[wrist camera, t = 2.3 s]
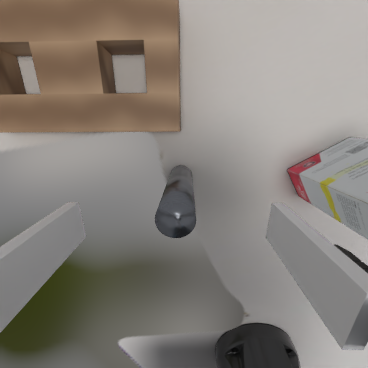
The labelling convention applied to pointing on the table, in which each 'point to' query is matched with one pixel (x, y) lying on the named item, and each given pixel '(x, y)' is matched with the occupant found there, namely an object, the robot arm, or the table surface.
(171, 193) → the pin
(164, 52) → the socket block
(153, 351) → the table surface
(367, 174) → the ink box
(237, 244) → the table surface
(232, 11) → the table surface
